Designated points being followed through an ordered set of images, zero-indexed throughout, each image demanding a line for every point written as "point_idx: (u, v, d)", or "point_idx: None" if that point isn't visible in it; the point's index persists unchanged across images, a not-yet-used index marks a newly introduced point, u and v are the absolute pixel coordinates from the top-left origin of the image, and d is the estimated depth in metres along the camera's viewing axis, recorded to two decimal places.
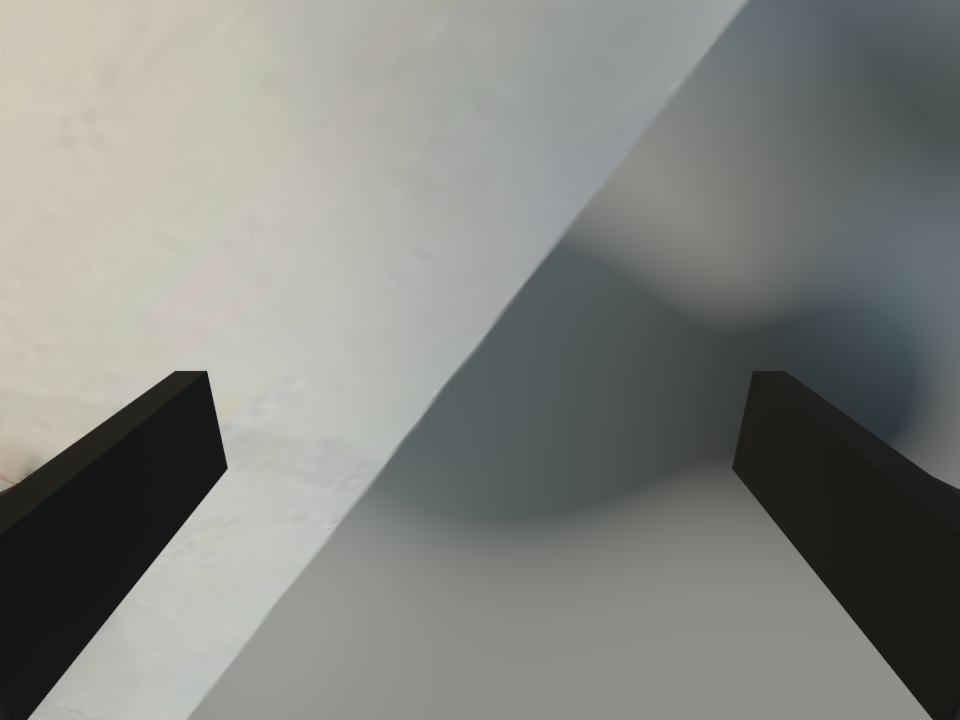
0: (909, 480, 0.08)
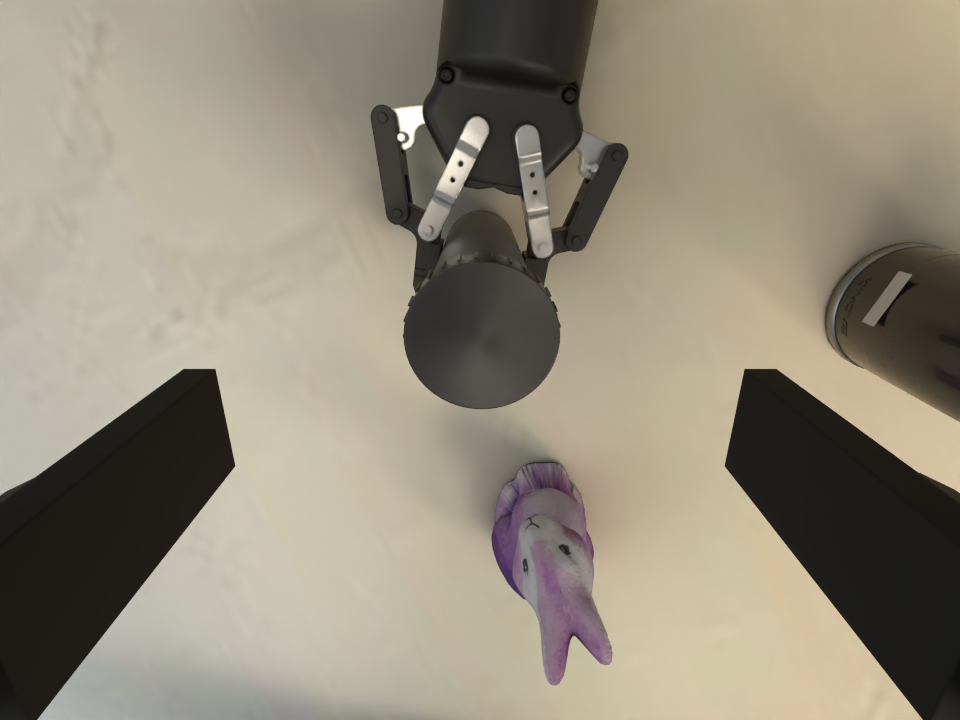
0: (894, 476, 0.08)
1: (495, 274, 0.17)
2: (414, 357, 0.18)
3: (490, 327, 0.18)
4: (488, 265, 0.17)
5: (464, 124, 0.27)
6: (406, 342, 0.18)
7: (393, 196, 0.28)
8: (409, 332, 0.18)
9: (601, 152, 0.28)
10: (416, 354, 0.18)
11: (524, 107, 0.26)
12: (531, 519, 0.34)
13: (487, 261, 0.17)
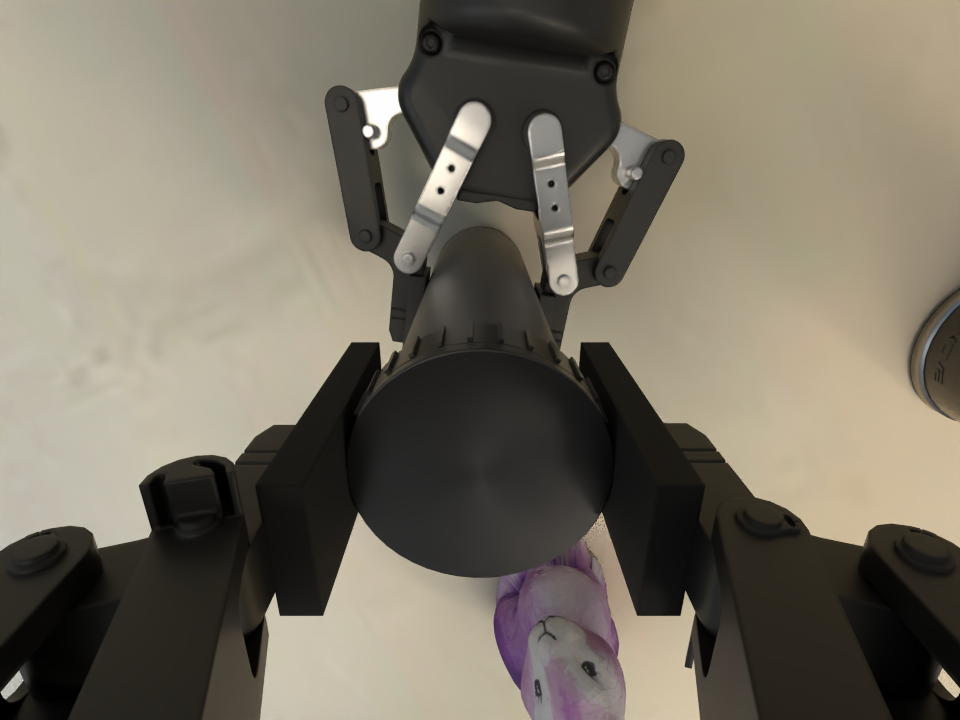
0: (637, 419, 0.10)
1: (504, 370, 0.10)
2: (365, 502, 0.11)
3: (495, 456, 0.10)
4: (491, 356, 0.10)
5: (456, 113, 0.19)
6: (351, 479, 0.11)
7: (359, 213, 0.20)
8: (355, 464, 0.10)
9: (645, 152, 0.20)
10: (369, 497, 0.11)
11: (540, 89, 0.19)
12: (545, 625, 0.26)
13: (490, 348, 0.10)
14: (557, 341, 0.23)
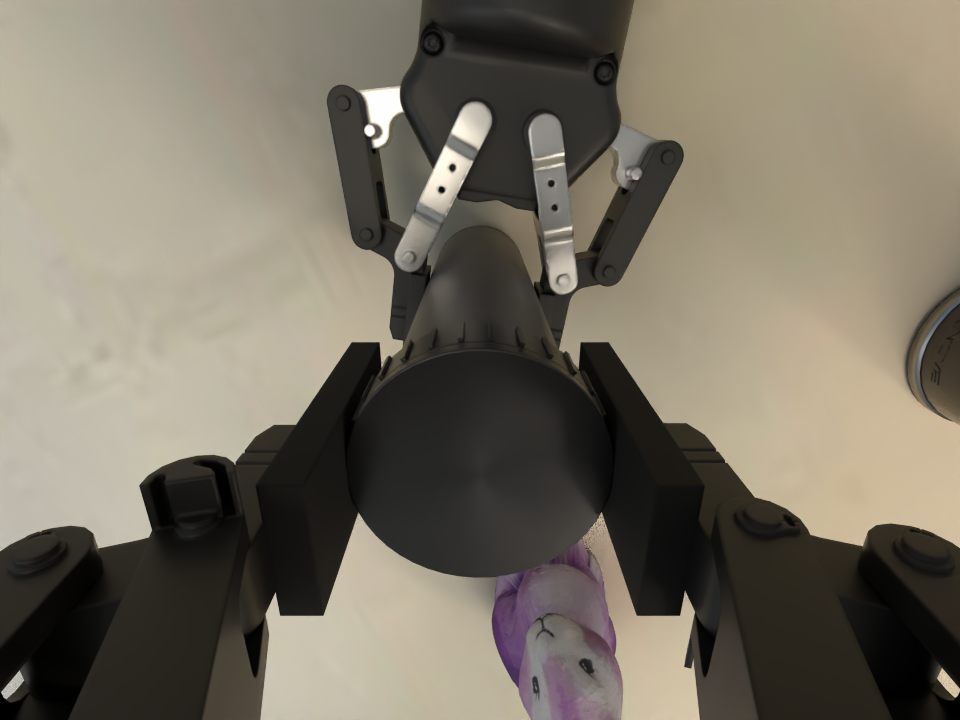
0: (637, 419, 0.10)
1: (380, 517, 0.11)
2: (573, 532, 0.11)
3: (453, 476, 0.11)
4: (377, 531, 0.11)
5: (457, 113, 0.19)
6: (558, 552, 0.11)
7: (361, 212, 0.20)
8: (541, 557, 0.11)
9: (645, 153, 0.20)
10: (567, 532, 0.11)
11: (541, 89, 0.19)
12: (543, 622, 0.27)
13: (375, 532, 0.11)
14: (556, 340, 0.23)
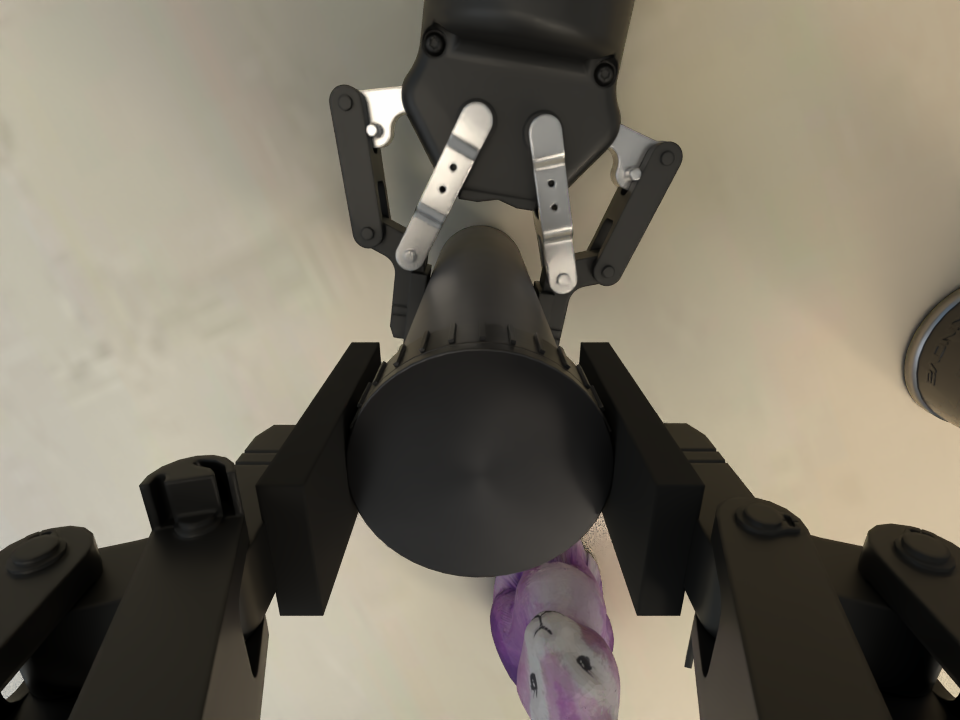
0: (637, 419, 0.10)
1: (580, 514, 0.11)
2: (476, 361, 0.10)
3: (497, 491, 0.11)
4: (598, 509, 0.11)
5: (458, 113, 0.19)
6: (509, 355, 0.10)
7: (362, 211, 0.21)
8: (526, 366, 0.10)
9: (644, 153, 0.20)
10: (481, 366, 0.10)
11: (541, 90, 0.19)
12: (541, 620, 0.27)
13: (602, 506, 0.11)
14: (556, 339, 0.23)
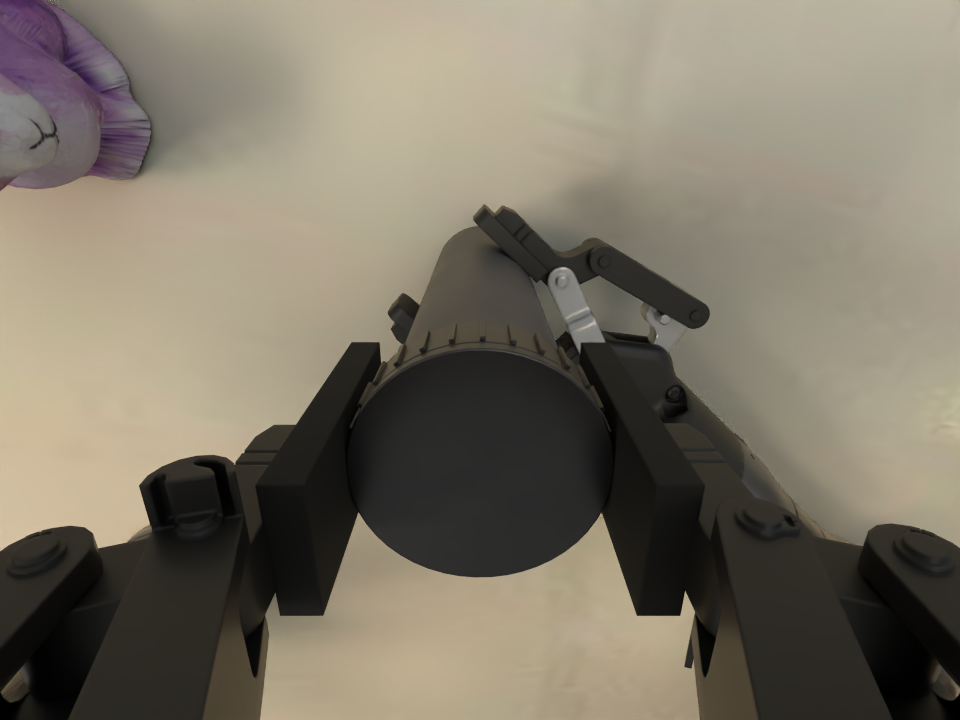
0: (637, 419, 0.10)
1: (580, 514, 0.11)
2: (476, 361, 0.10)
3: (497, 491, 0.11)
4: (597, 509, 0.11)
5: None
6: (509, 355, 0.10)
7: (622, 270, 0.22)
8: (527, 367, 0.10)
9: None
10: (481, 366, 0.10)
11: None
12: (51, 137, 0.18)
13: (602, 506, 0.11)
14: None
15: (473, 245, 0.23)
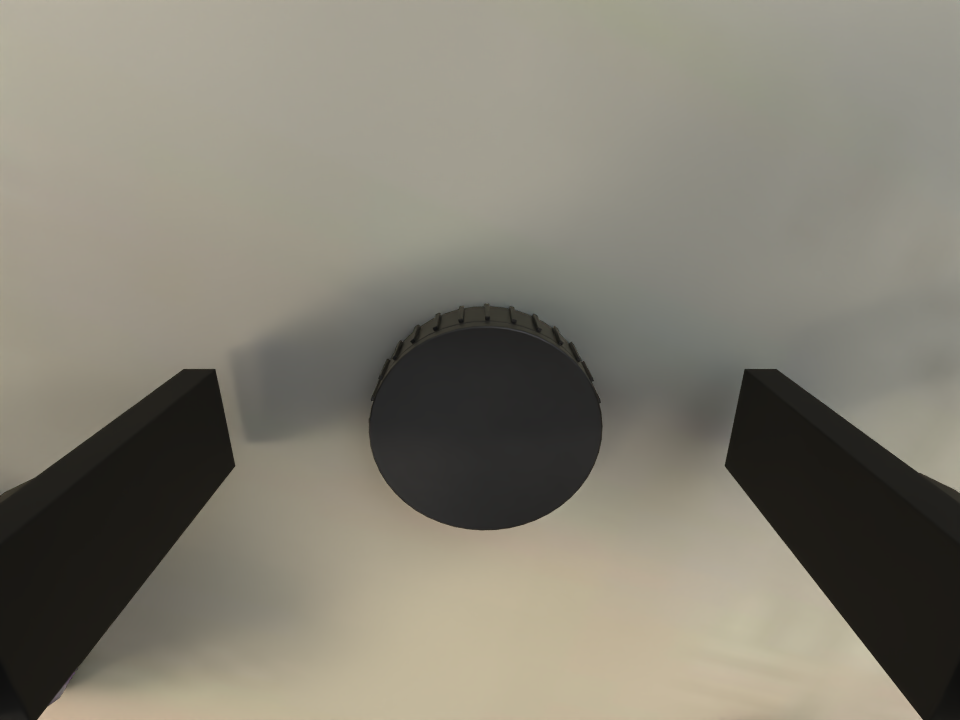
0: (894, 476, 0.08)
1: (573, 472, 0.13)
2: (482, 337, 0.11)
3: (500, 451, 0.12)
4: (588, 467, 0.13)
5: None
6: (510, 332, 0.11)
7: None
8: (525, 341, 0.11)
9: None
10: (486, 341, 0.11)
11: None
12: None
13: (592, 465, 0.13)
14: None
15: None
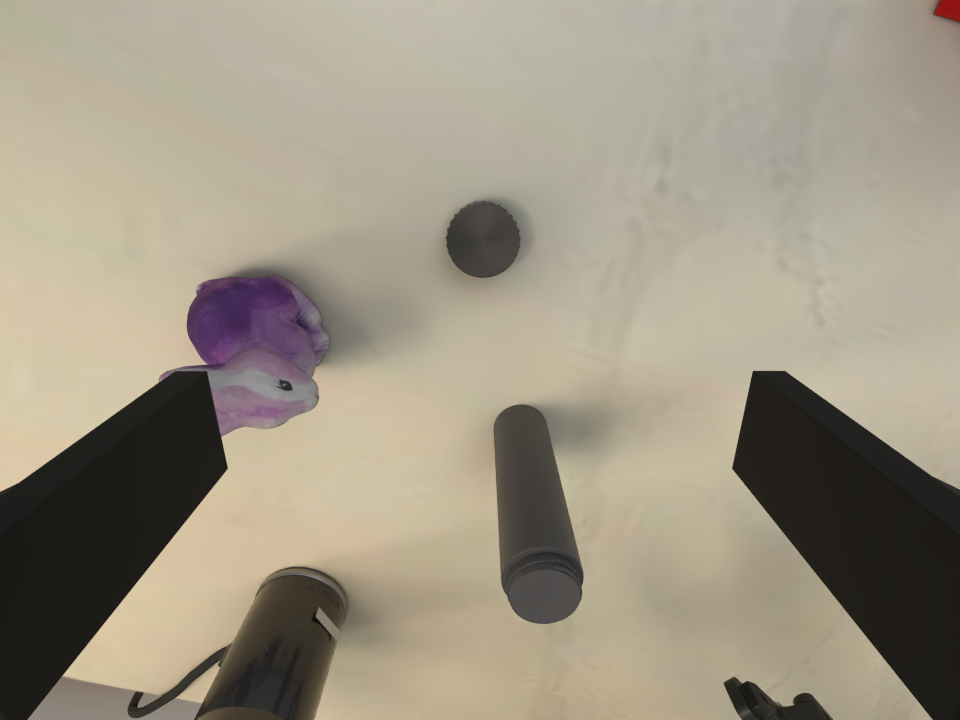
0: (909, 480, 0.08)
1: (511, 255, 0.40)
2: (482, 207, 0.38)
3: (487, 247, 0.39)
4: (515, 253, 0.39)
5: None
6: (490, 205, 0.38)
7: None
8: (495, 209, 0.38)
9: None
10: (483, 208, 0.38)
11: None
12: (318, 397, 0.36)
13: (517, 252, 0.40)
14: None
15: (524, 441, 0.40)
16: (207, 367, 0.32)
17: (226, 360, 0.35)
